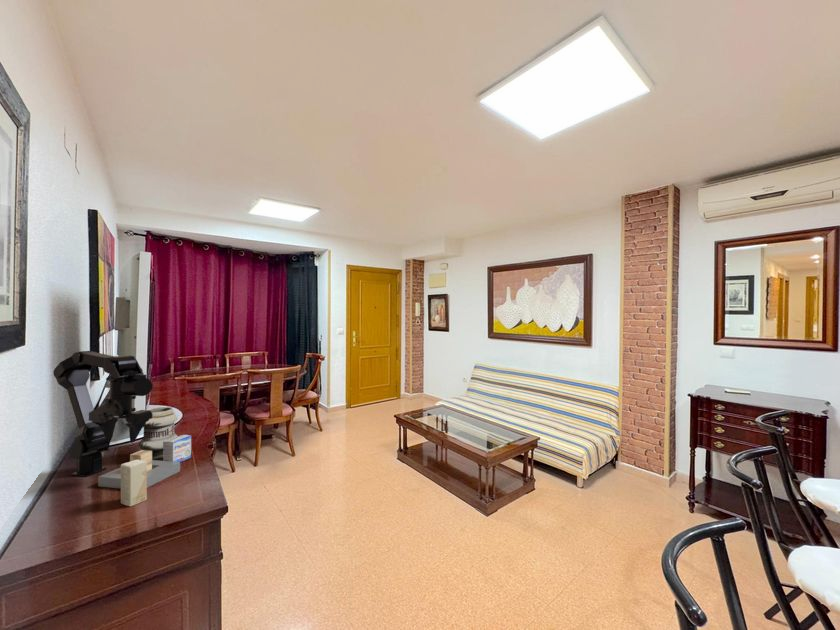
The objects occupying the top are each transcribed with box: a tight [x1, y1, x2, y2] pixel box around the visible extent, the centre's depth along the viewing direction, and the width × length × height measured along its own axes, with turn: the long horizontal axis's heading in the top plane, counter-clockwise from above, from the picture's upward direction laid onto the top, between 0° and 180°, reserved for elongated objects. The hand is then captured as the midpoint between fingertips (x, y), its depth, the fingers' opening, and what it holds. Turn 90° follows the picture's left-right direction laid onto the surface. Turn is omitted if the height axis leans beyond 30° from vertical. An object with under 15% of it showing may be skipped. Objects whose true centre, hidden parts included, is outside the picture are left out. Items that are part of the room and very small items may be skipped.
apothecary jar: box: [138, 406, 179, 461], centre depth 134 cm, size 12×12×18 cm
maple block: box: [129, 449, 152, 471], centre depth 115 cm, size 4×4×8 cm
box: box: [120, 460, 148, 507], centre depth 100 cm, size 5×4×11 cm
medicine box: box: [162, 434, 192, 463], centre depth 129 cm, size 8×4×9 cm, turn 168°
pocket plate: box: [97, 460, 181, 489], centre depth 115 cm, size 16×14×3 cm
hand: (120, 441), depth 116 cm, fingers open, 9 cm apart
